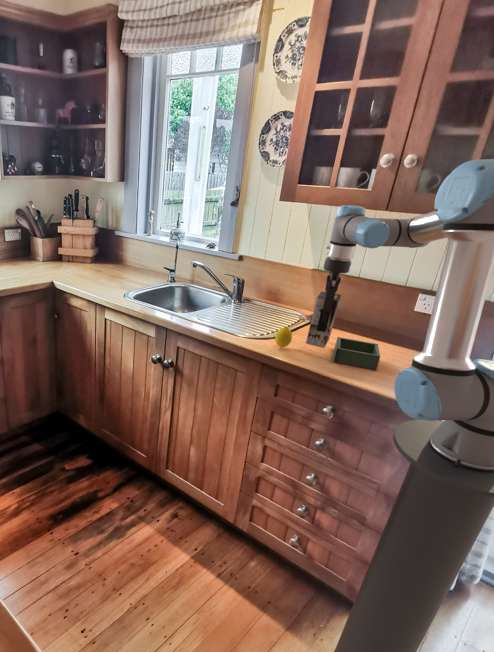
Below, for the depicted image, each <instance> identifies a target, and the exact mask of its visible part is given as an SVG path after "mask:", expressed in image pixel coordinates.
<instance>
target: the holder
mask: <svg viewBox="0 0 494 652" xmlns="http://www.w3.org/2000/svg"><path fill="white" fill-rule="evenodd" d="M380 359H381V353H380V348H379V344H378V343H374V342H369V341H364V340H363V341H362V340H357V339H353V338H352V339H351V338H345V337H341V336H340V337H339V336H337V337H336V341H335V344H334V348H333V363H337V364H342V365H346V366H353V367H357V368H362V369H366V370H367V369H368V370H372V371H377V368H378V365H379V362H380Z"/></svg>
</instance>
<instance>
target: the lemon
mask: <svg viewBox="0 0 494 652" xmlns="http://www.w3.org/2000/svg"><path fill="white" fill-rule="evenodd" d="M274 338H275V339H274V341H275V343H276V345H277V346H278V347H279V348H280V349H283V348H285V347H289V345H290V344H291V342H292V340H293V333H292V330H291V329H290V328H288V326H284V327H281V328H279V329H278V330H277V332H276V334H275V337H274Z"/></svg>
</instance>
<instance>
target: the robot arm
mask: <svg viewBox="0 0 494 652" xmlns="http://www.w3.org/2000/svg"><path fill="white" fill-rule="evenodd" d="M433 209H434V210H433V211H429V212H427V213H424V214H423V213H422V214H419V215H418V216H414V217H411V218H407V219H406V218H384V217H383V218H381V217H370V216H369V217H368V216H366V208H365V207H364V206H362V205H361V206H360V205H352V204H342V205H340V206H339V207H338V209H337V211H336V215H335V217H334V223H333V226H332V231H331V235H330V241H329V243H328V244H329V245H326V247H325V249H326V250H327V251H326V256H327V257H326V258H325V260H324V264H323V267H322V268H323V270H324V271H326V272H329V274H328V275H327V276H326V282H325V289H324V290H325V291H324V292H326V296H325V300H324V304H323V309H320V310H319V311H320V312H321V314H320V318H319V322H318V326H317V330H316V331H322V332H325V331H326V328H327V324H328V320H329V316H330V313H331V311H332V310H331V309H332V305H333V301H334V297H335V294H337V292H338V289H339V285H340V283H341V281H342V278H341V276H340V274H347V273H349V272H350V269H351V266H352V260H353V258H354V255H355V252H356V247H357V245H358V246H359V247H362V248H365V249H366V248H368V249H377V248H379V247H397V248H399V247H400V248H409V249H415V248H424V247H427V246H428V244H430V243H431V242H434V241H439V240H443V239H447V241H448V242H447V246H446V250H445V253H444V259H443V262H442V267H441V272H440V276H439V280H438V283H437V284H438V285H437V288H436V292H435V297H434V302H433V305H432V311H431V314H430V319H429V321H428V322H429V323H428V327H427V332H426V336H425V340H424V345H423V348H422V350H421V352H419V353H417V354H416V355H414V356H413V357H412V361H411V365H410V367H407V368H404V369H402V370H401V371H400V372H399V373H397V375H396V377H395V379H394V389H393V390H394V397H395V399H396V402H397V403H398V407H399V409H400V410H401V411H402V412H403V413H404V414H405V415H407V417H409V418H411V419H413V420H428V421H436V420H439V421H444V422H443V423H442V424H441V425H440V426H439V427H438V428H437V429H436V430H435V431H434V432H433V434H432V435H431V437H430V440H429V445H430V447H431V448H432V449H433V451H434V452H436V453H437V454H438V455H439V456H441V457H442V458H444V459H446V460H447V461H449V462H451V463H453V464H454V467H457V468H458V467H459V466H461V467H463V468H467V469H470V470H474V471H480V472H494V361H493V360H489V359H484V358H483V359H482V358H476V359H473V360H472V359H471V353H472V350H473V346H474V344H475V339H476V335H477V332H478V327H479V324H480V319H481V316H482V313H483V309H484V305H485V301H486V297H487V295H488V294H487V293H488V291H489V287H490V283H491V279H492V275H493V271H494V158H487V159H486V158H485V159H484V158H483V159H474V160H473V159H472V160H468V161H466V162H463V163H462V164H460V165H458V166H457V167H456V168H454V169H453V170H452V171H451V173H450V174H447V176H446V177H445V178H444V180H443V181H442V182H441V184H440V186H439V188H438V190H437V193H436V195H435V199H434V208H433ZM328 308H329V309H328Z"/></svg>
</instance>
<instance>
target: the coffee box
mask: <svg viewBox="0 0 494 652" xmlns="http://www.w3.org/2000/svg"><path fill="white" fill-rule="evenodd" d="M325 296H326V292H325V291H320V293H319V294H318V296H317V297H316V300H315V304H314V307H313V308H314V309H313V313H312V315H311V320H310V324H309V328H308V331H307V335H306V340H305V344H306V345H309V346H313V347H318V348H320V349H321V348H322V349H326V346H327V345H328V342H329V341H330V338H331V334H332V331H333V327H334V323H335V319H336V315H337V312H338V308H339V305H340V301H341V296H342V294H340V293H335V297H334V301H333V305H332V309H331V310H332V311H331V313H330V316H329V320H328V324H327V328H326V331H325V332H322V331H316V330H317V326H318V322H319V318H320V314H321V312H320V311H319V310H320V309H323V304H324V300H325ZM328 309H329V308H328Z"/></svg>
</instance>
